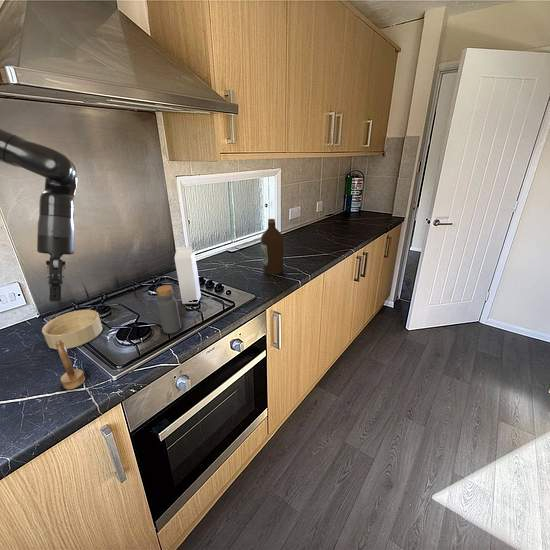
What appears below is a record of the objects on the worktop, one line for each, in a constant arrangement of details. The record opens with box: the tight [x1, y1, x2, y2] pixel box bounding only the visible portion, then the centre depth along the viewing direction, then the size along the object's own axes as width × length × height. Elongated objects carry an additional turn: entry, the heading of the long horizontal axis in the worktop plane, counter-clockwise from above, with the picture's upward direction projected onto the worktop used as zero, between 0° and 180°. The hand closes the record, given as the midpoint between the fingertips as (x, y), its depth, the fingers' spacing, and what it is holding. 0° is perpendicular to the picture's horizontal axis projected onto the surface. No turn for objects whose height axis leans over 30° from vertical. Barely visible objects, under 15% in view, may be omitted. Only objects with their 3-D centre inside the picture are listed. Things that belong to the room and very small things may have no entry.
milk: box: [174, 246, 202, 305], centre depth 111 cm, size 6×6×22 cm
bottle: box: [155, 284, 182, 335], centre depth 94 cm, size 6×6×15 cm
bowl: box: [41, 309, 104, 350], centre depth 94 cm, size 15×15×6 cm
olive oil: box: [260, 218, 285, 276], centre depth 136 cm, size 11×11×25 cm
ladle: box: [55, 340, 86, 390], centre depth 73 cm, size 5×5×13 cm
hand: (55, 298), depth 75 cm, fingers open, 8 cm apart
